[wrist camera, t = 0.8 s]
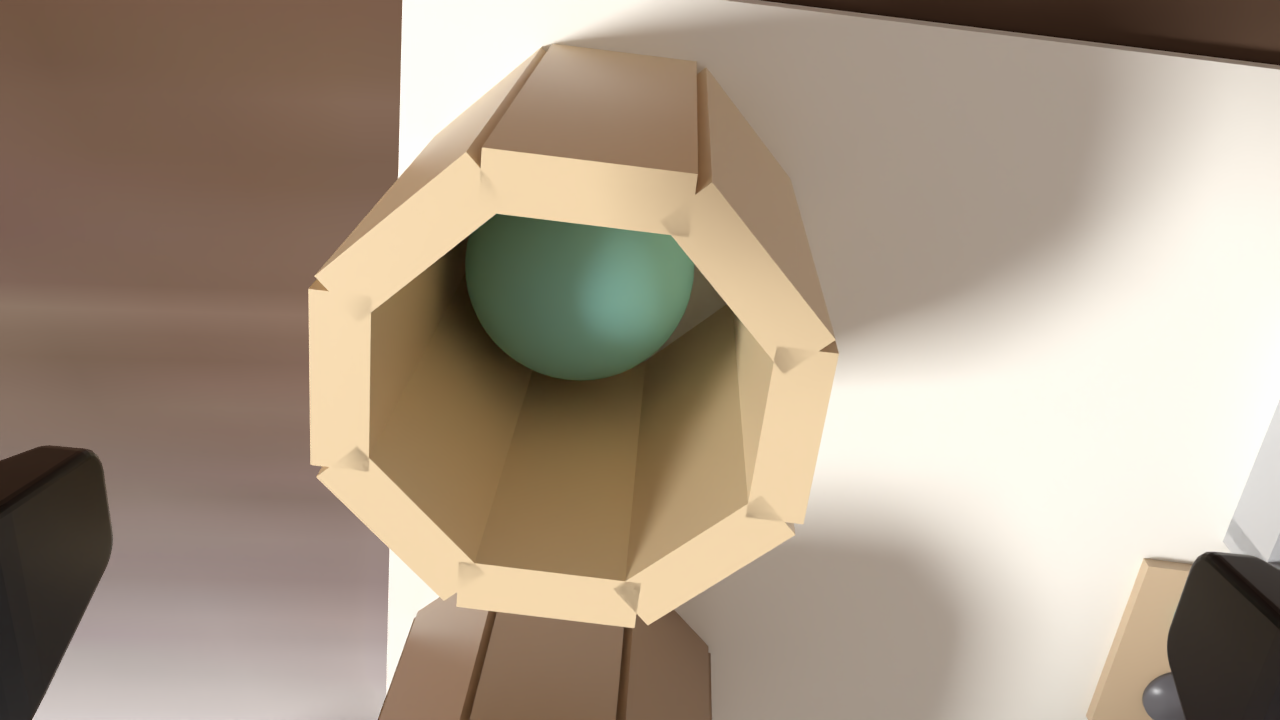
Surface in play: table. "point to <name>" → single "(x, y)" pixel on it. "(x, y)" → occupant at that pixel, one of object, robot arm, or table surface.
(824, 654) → the board
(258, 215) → the table surface
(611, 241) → the teal ball in tube
